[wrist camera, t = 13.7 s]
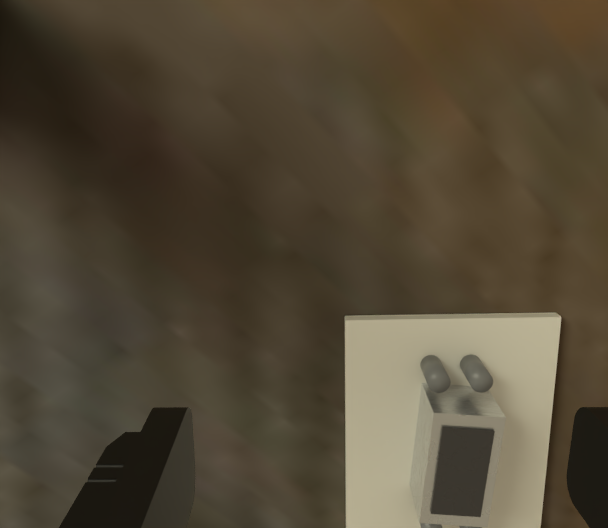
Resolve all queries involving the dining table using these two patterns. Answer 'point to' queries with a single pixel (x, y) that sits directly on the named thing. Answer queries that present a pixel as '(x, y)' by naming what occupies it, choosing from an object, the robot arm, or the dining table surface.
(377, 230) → the dining table surface
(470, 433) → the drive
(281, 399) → the dining table surface
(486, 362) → the pin tray
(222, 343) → the dining table surface
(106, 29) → the dining table surface
